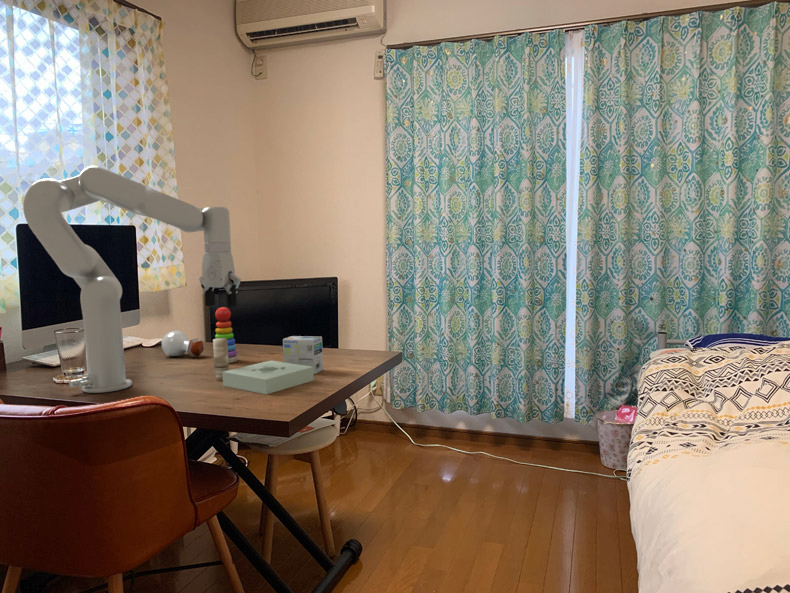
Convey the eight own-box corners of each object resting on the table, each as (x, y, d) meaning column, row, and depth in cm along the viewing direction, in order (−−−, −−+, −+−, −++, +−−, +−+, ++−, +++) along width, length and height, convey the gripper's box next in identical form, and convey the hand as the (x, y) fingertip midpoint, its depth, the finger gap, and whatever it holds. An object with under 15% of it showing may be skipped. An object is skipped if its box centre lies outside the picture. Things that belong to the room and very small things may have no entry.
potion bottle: (166, 358, 212) (199, 365, 207) (151, 347, 204) (185, 354, 199) (177, 336, 216) (210, 342, 211) (163, 324, 208) (196, 330, 203)
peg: (220, 381, 169) (218, 340, 168) (212, 379, 171) (209, 339, 170) (232, 378, 172) (230, 338, 171) (223, 376, 174) (221, 337, 173)
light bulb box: (324, 369, 181) (322, 335, 180) (315, 374, 175) (314, 339, 174) (292, 368, 184) (291, 335, 183) (283, 373, 178) (281, 338, 177)
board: (266, 394, 153) (265, 379, 152) (223, 385, 163) (222, 371, 163) (313, 380, 167) (313, 366, 167) (271, 373, 178) (270, 360, 178)
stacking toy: (241, 359, 201) (239, 305, 199) (233, 364, 193) (230, 308, 191) (219, 359, 201) (217, 306, 200) (210, 364, 193) (207, 308, 192)
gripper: (188, 249, 173) (192, 306, 175) (227, 248, 163) (230, 309, 165) (209, 249, 179) (212, 303, 181) (247, 248, 170) (250, 306, 171)
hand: (220, 306), depth 173 cm, fingers open, 9 cm apart
